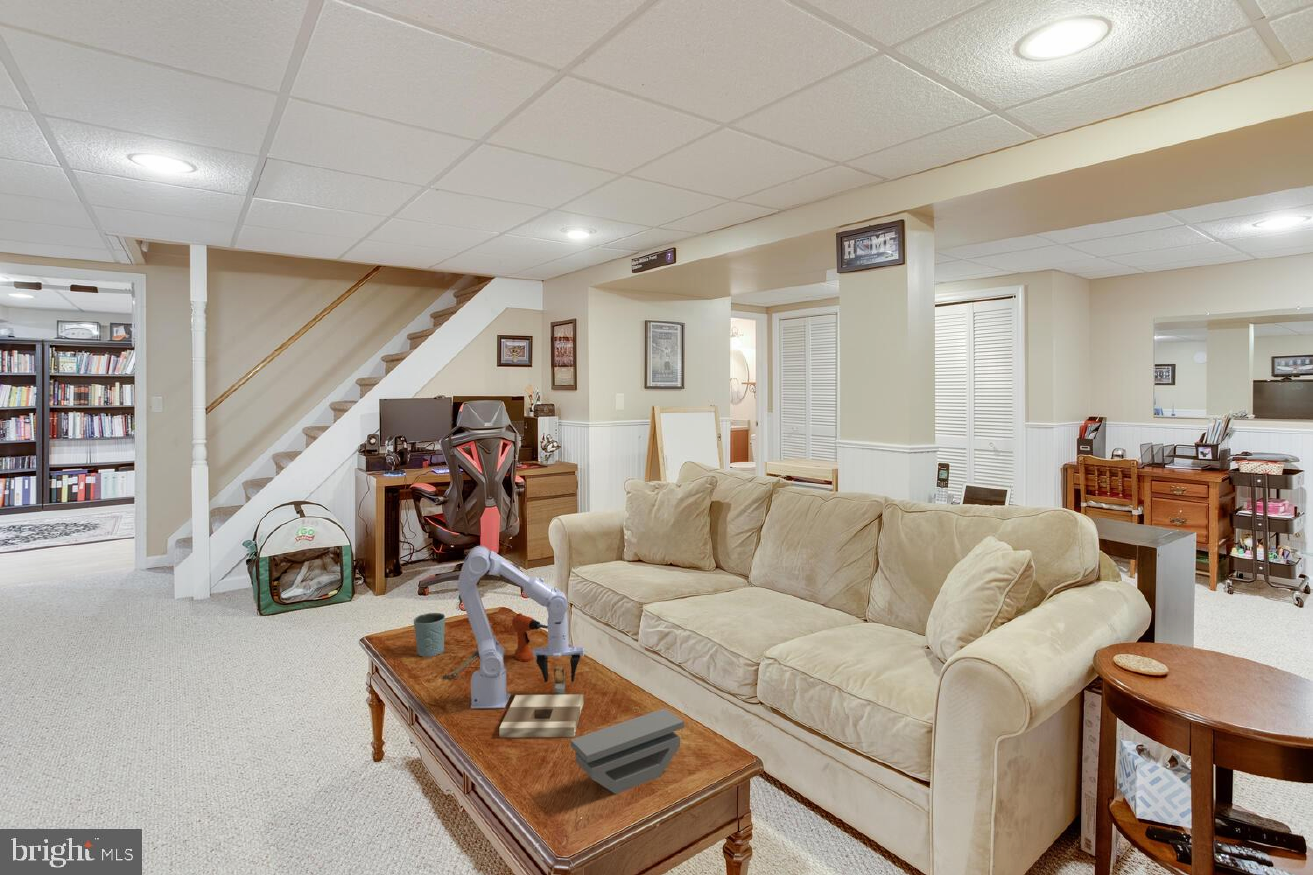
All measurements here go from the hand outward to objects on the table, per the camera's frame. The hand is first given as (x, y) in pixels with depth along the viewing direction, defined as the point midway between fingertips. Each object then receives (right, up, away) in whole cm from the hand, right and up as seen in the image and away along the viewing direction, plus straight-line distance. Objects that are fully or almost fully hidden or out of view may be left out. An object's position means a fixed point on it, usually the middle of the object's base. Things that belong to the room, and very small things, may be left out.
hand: (559, 680), depth 189 cm
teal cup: (-48, -3, +33) cm, 59 cm away
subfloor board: (-2, -5, -14) cm, 15 cm away
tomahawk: (-33, -4, +22) cm, 40 cm away
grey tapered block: (+22, -7, -40) cm, 46 cm away
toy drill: (-13, -3, +24) cm, 28 cm away
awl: (0, -4, 0) cm, 4 cm away
